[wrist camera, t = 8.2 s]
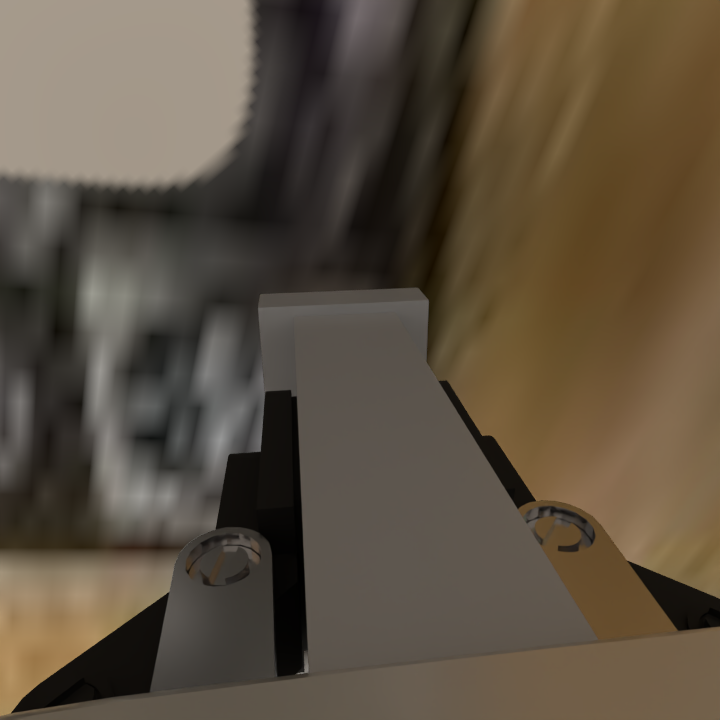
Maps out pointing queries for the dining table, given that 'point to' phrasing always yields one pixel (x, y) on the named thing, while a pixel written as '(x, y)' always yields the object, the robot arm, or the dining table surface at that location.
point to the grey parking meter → (399, 494)
